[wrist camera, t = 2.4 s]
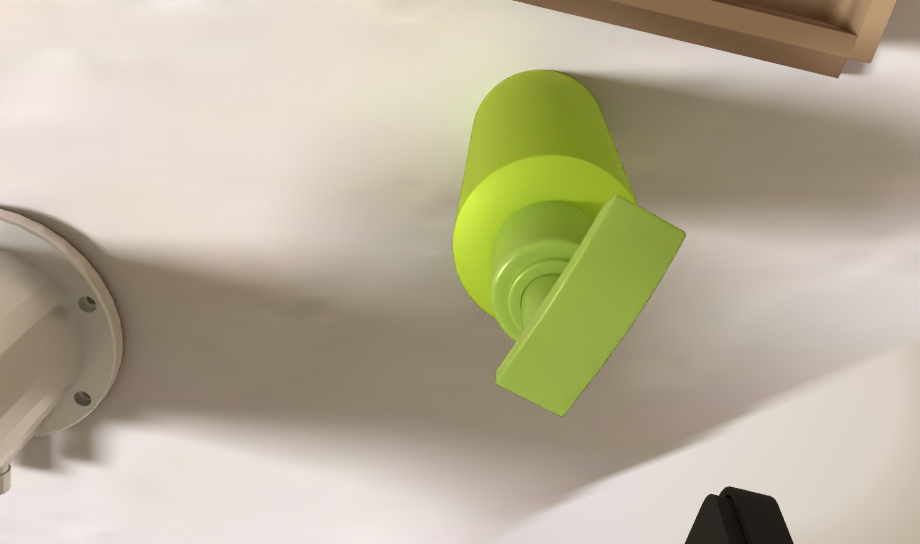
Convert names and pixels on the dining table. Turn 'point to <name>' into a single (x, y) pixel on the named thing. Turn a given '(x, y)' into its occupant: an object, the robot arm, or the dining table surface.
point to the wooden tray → (753, 26)
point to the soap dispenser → (554, 235)
